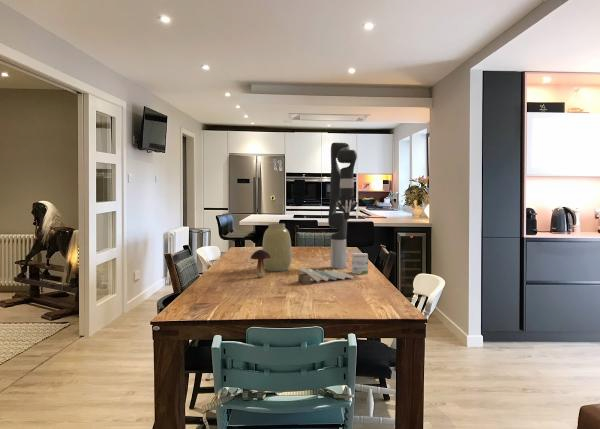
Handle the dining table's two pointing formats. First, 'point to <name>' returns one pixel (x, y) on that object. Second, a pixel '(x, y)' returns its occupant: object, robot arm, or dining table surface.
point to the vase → (277, 247)
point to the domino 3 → (326, 275)
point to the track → (306, 279)
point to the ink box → (360, 263)
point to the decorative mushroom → (260, 261)
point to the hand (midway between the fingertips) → (346, 219)
